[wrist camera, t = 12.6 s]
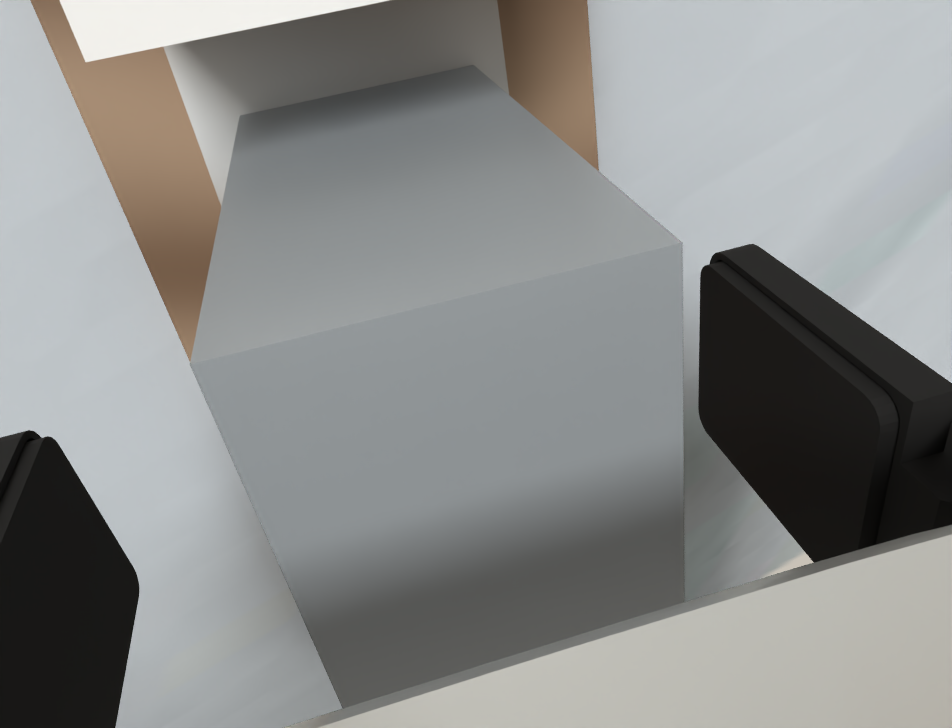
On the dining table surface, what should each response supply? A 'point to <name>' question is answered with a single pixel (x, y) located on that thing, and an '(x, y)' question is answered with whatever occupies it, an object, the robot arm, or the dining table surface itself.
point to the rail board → (293, 81)
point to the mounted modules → (178, 20)
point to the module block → (445, 378)
